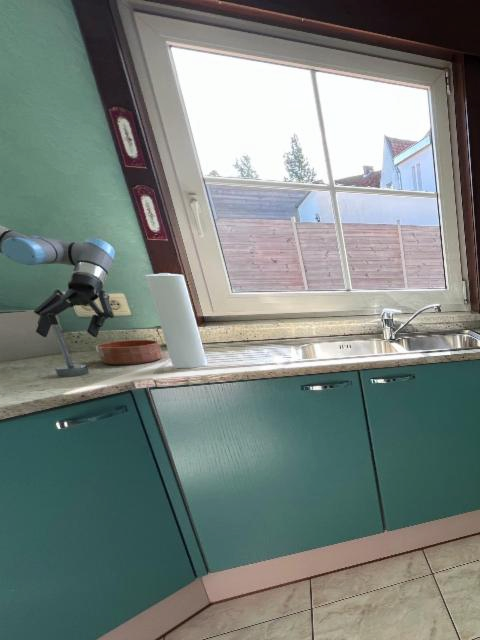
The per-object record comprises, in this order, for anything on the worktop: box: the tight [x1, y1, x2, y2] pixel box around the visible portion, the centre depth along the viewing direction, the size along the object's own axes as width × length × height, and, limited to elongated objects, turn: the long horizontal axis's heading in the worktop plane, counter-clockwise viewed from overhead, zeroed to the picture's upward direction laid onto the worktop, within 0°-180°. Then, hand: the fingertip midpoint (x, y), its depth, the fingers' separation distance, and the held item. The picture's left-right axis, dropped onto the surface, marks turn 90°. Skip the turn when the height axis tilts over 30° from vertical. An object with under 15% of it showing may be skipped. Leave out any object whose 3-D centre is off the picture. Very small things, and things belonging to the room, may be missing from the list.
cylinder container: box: [145, 272, 208, 369], centre depth 163 cm, size 9×9×30 cm
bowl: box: [95, 339, 164, 366], centre depth 172 cm, size 16×16×6 cm
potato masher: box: [47, 314, 90, 378], centre depth 150 cm, size 7×7×18 cm
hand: (66, 334), depth 152 cm, fingers open, 13 cm apart
